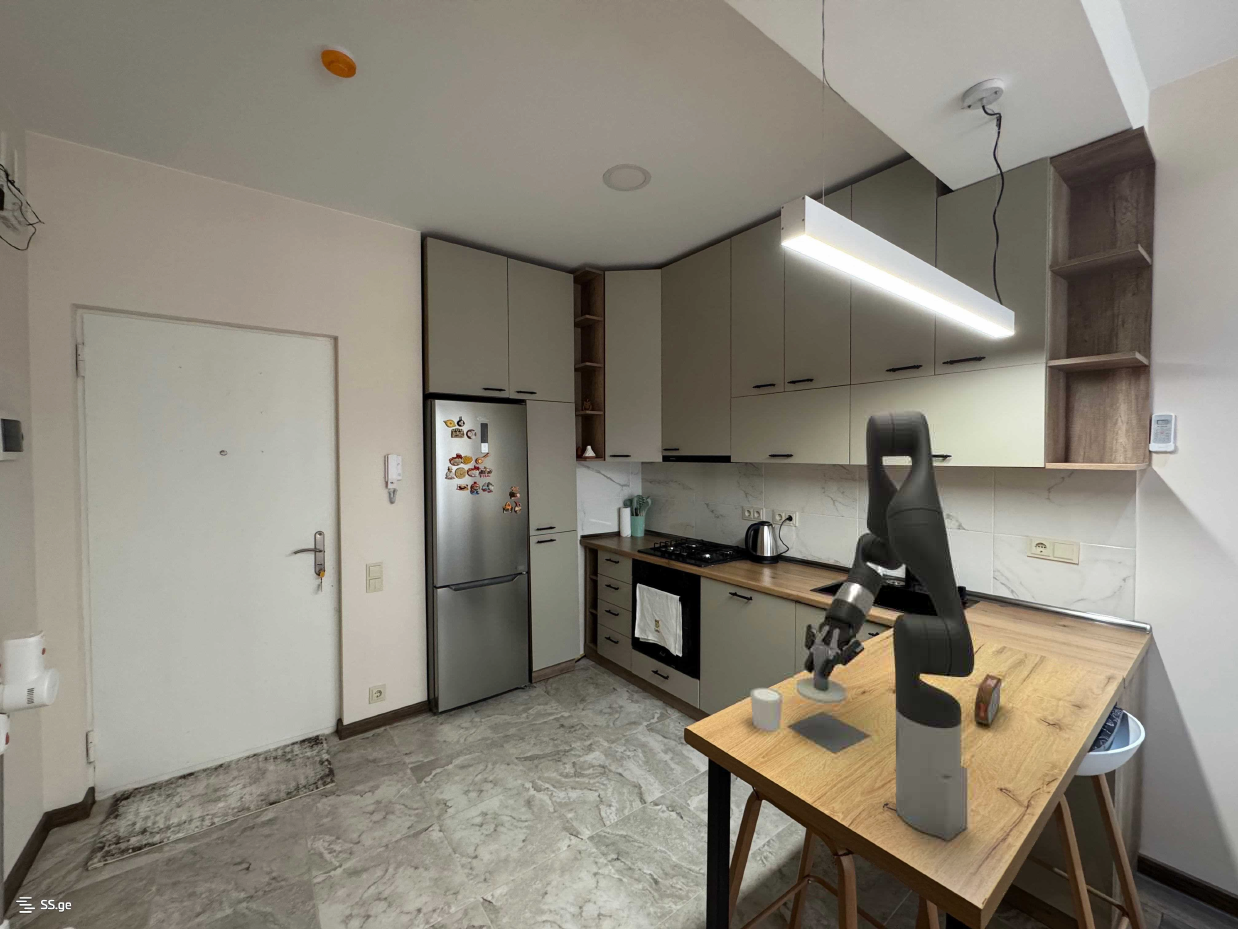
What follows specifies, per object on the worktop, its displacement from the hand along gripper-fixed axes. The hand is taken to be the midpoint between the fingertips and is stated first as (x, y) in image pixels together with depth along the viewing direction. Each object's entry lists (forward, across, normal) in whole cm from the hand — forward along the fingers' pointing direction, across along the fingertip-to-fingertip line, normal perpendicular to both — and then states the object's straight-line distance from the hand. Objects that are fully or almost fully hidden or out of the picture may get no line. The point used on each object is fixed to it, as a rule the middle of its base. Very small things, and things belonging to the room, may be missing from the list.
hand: (814, 673), depth 108 cm
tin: (-18, +16, +37) cm, 44 cm away
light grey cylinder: (+14, -8, +5) cm, 17 cm away
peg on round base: (+2, 0, +5) cm, 5 cm away
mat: (+7, +1, +12) cm, 14 cm away
